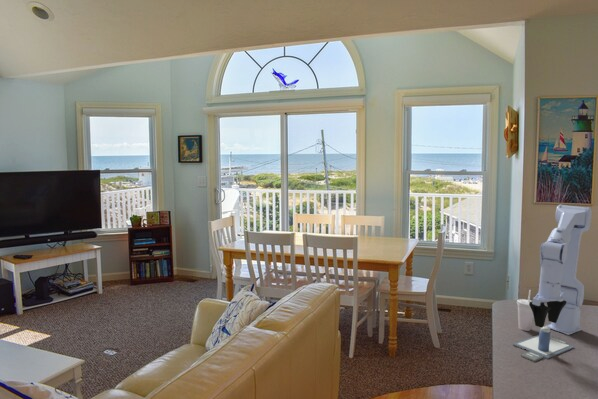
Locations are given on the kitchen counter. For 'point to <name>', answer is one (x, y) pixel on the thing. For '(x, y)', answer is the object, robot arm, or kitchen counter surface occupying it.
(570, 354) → the kitchen counter surface
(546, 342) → the blue bottle
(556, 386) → the kitchen counter surface
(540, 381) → the kitchen counter surface
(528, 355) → the word card
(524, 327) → the smoothie
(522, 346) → the clipboard
